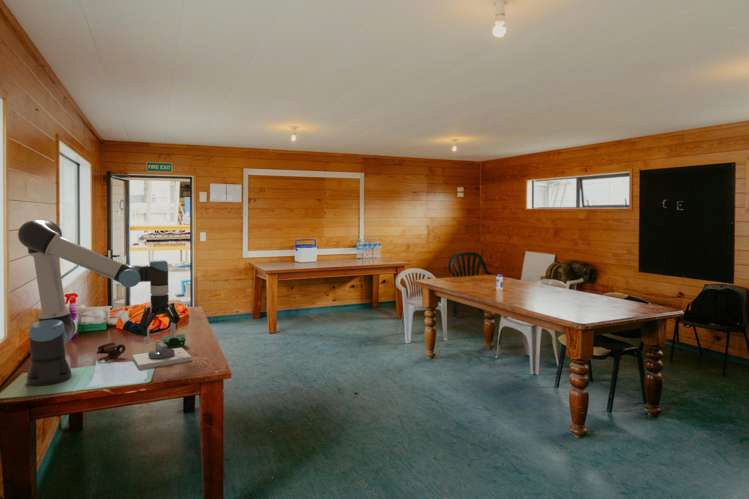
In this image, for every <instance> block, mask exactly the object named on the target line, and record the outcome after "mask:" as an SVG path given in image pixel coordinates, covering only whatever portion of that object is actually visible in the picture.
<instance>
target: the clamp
mask: <svg viewBox="0 0 749 499" xmlns="http://www.w3.org/2000/svg"><path fill="white" fill-rule="evenodd" d="M160 341H162V342H163V343H164V344H166V345H167V349H170V348H174V347H175V348H181V347H183V346H185V344H186V341H187V340H186V336H185V334H184V333H182V334H176V337H171V335H165V336H164V335H163V336H160Z"/></svg>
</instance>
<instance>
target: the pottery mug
mask: <svg viewBox="0 0 749 499" xmlns="http://www.w3.org/2000/svg"><path fill="white" fill-rule="evenodd" d="M126 348H127V347H126V346H125V344H123V343H122V344H118V345H116V343H115V342H110V343H105V344H102V345H99V346H98V347H97V350H96V355H98V354H99V355H102V354H105V355H106V354H107V355H106V356H104V357H103V359H104V362H108V361H112V360H118V359H119V357H120V356H121V355H122V354H124V352H125V351H126Z"/></svg>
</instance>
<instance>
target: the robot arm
mask: <svg viewBox="0 0 749 499" xmlns="http://www.w3.org/2000/svg"><path fill="white" fill-rule="evenodd" d="M17 238H18V240H19V242H20V244H22V245H23V246H24V247H25V248H27V252H28V253H27V254H28V255H30V256H32V257H33V261H34V268H35V276H36V281H37V288H38V289H37V290H38V295H39V301H40V308H41V309H40V310H41V314H40V315H39V316H38V318H37V319H38V321H36V322H35V323H33V324H32V325H30V326H29V331H28V337H29V353H30V365H29V367H28V368H29V369H28V371H27V374H26V384H27V385H29V386H35V387H36V386H37V387H38V386H48V385H53V384H59V383H61V382H64V381H67V380H69V379H70V378H71V377H72V369H71V367H70V365H69V363H68V360H67V358H66V344H67V343H68V342H70V341H71V340H72V339H73V337H74V336H75V333H76V328H77V326H76V323H75V321H74V320H73V319H72V314H71V311H70V310H68V309H67V308H66V303H65V302H66V300H65V295H64V293H65V292H64V289H63V288H64V286H63V280H62V274H61V268H60V267H61V266H60V261H59V260H60V259H63V260H65V261H67V262H70V263H72V264H74V265H76V266H80V267H82V268H84V269H87V270H89V271H91V272H94V273H97V274H98V275H101V276H103V277H105V278H109V279H110V280H113V281H115V282H118V283H120V284H121V285H122V286H123V287H124V288H133V287H136V286H137V285H138V284H139V283H144V282H145V283H147V282H149V283H150V284H149V285H150V304H151V305H150V306H144V310H143V313H142V316H141V318H140V321H139V324H138V326H137V328H138V329H141V330H142V337H143V343H144V344H150V329H149V327H150V325H152V324H151V323H152V322H153V321H154V320H155V318H156V317H157V316H160V315H165V316H166V317H167V318H168V320H169V321H171V322H169V323H170V326H169V327H170V330H169V331H170V336H171V337H176V335H177V332H176V330H178V329H177V327H178V323H179V322H181V320H182V319H181V317H180V315H179V314H178V311H177V308H176V307H175V302H169V290H170V289H169V263H168V261H167V260H164V259H163V260H162V259H160V260H157V259H156V260H150V262H149V264H148V265H147V264H145V265H139V264H138V265H137V264H135V265H131V264H128V265H127V264H124V263H121V262H119V261H117V260H115V259H112V258H110V257H108V256H106V255H103V254H101V253H98V252H96V251H93V250H92V249H89V248H87V247H85V246H82V245H80V244H78V243H75V242H73V241H70V240H68V239H66V238H64V237H63V231H62V229H61V227H60V226H59V225H58V224H57V223H55V222H54V221H51V220H47V219H39V220H37V219H36V220H29V221H27V222H25V223H23V224H22V225H21V226H20V227H19V229H18V231H17ZM59 258H60V259H59ZM168 308H169V309H168Z"/></svg>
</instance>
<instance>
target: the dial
mask: <svg viewBox="0 0 749 499" xmlns="http://www.w3.org/2000/svg"><path fill="white" fill-rule="evenodd" d="M154 344H155V346H154V347H155V348H154V350H150V351H149V352H147V353H148V357H149V358H151V359H163V358H168V357H171V356H173V355H174V350H173V349H174V348H169V349H168V348H167V345H166V344H164V343H163V342H162V341H161V339H160V340H155V341H154Z"/></svg>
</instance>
